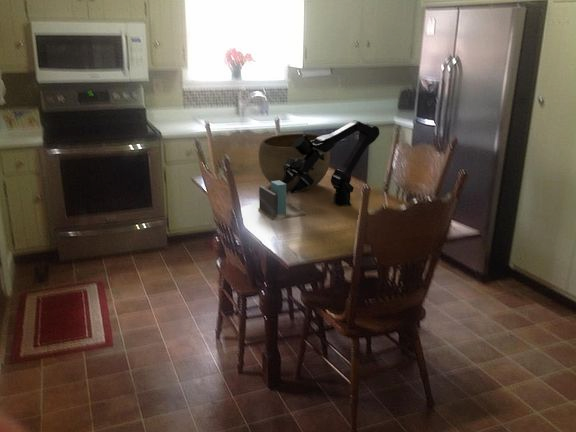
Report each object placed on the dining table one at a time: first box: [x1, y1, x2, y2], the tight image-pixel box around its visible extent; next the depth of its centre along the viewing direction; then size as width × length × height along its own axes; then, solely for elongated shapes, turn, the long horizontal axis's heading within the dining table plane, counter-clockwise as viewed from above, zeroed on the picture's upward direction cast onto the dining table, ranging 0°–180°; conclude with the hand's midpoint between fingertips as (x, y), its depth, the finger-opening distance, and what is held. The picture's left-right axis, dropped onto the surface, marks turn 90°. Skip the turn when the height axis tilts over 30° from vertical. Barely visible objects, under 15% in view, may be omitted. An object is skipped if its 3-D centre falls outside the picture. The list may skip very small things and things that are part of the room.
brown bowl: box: [258, 133, 331, 192], centre depth 274 cm, size 35×35×25 cm
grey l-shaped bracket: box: [257, 185, 306, 221], centre depth 237 cm, size 16×14×11 cm
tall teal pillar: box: [270, 180, 287, 215], centre depth 235 cm, size 4×6×13 cm, turn 28°
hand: (285, 189), depth 236 cm, fingers open, 9 cm apart
